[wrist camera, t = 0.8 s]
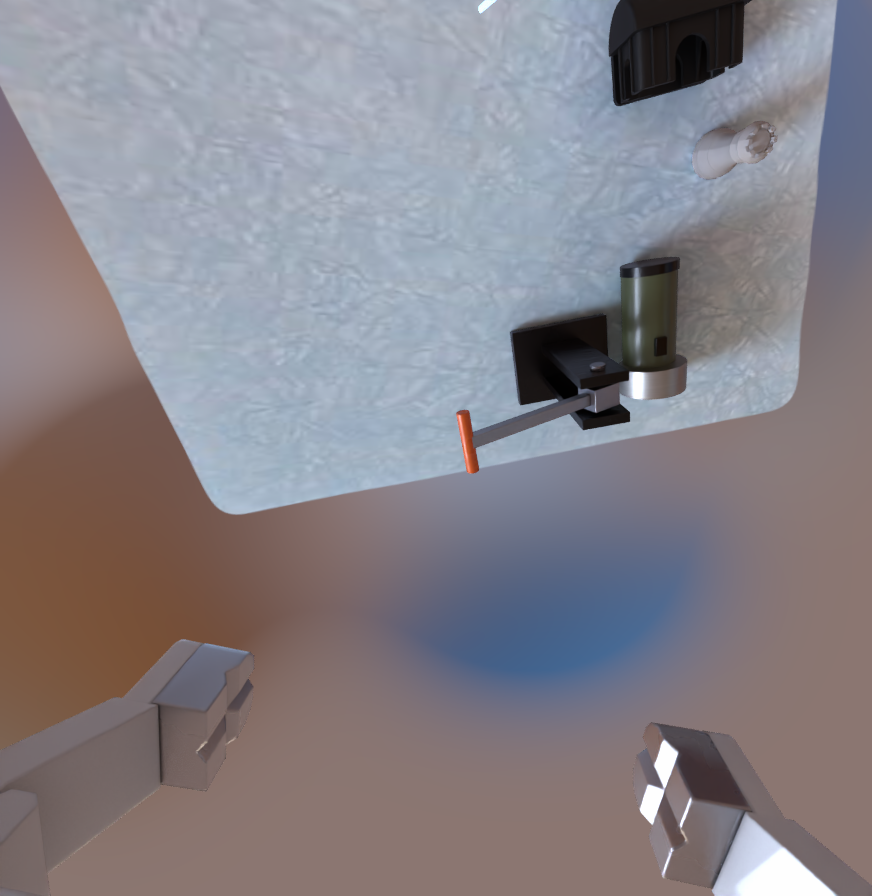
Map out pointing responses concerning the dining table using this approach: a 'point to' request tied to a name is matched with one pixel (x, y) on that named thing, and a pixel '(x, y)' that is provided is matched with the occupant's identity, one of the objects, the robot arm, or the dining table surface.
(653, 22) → the end cap
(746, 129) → the rook chess piece
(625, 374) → the black lever stand
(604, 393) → the switch lever
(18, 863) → the robot arm
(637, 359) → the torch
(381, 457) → the dining table surface
